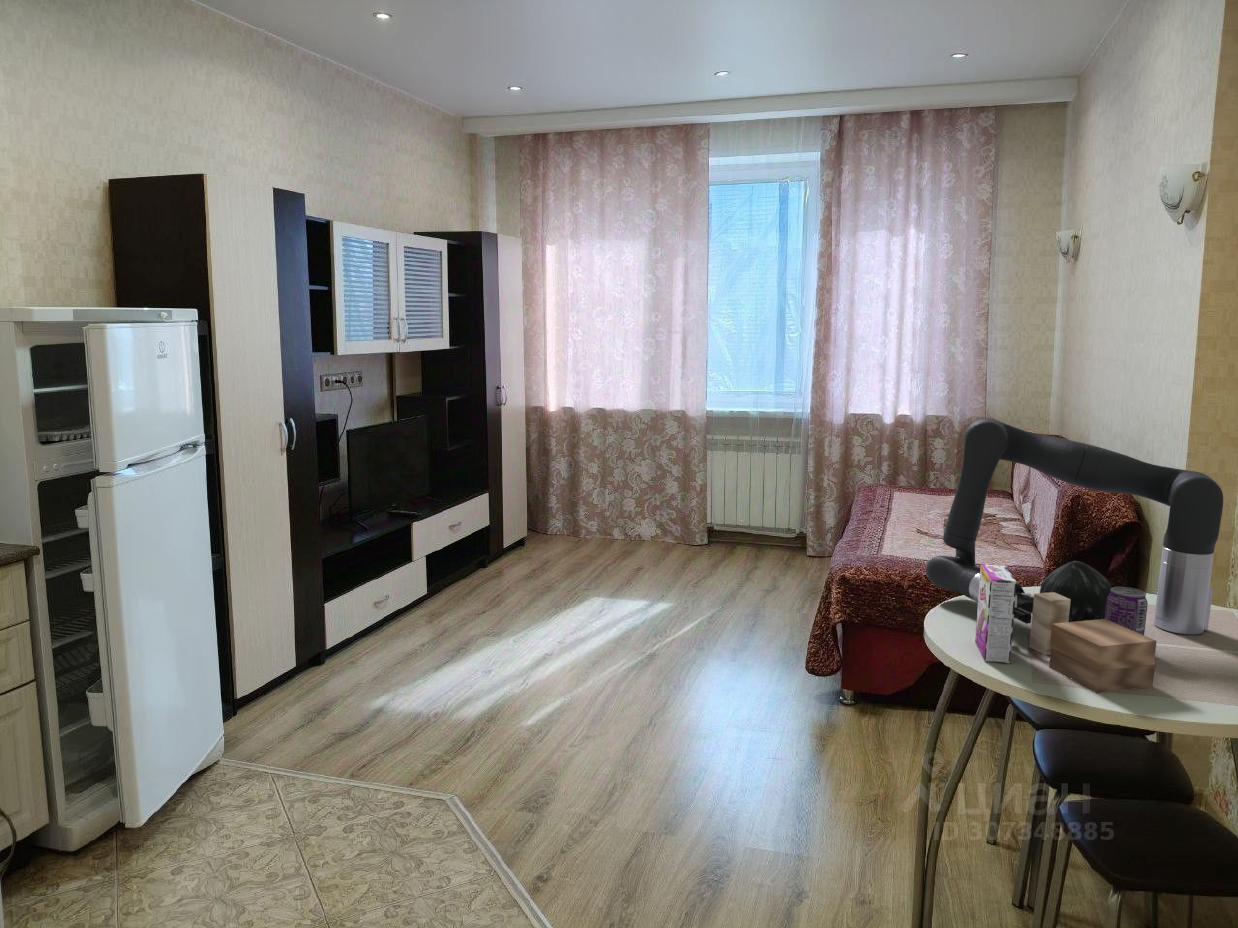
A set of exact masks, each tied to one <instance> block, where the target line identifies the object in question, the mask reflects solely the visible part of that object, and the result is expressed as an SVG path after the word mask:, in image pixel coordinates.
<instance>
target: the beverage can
mask: <svg viewBox="0 0 1238 928" xmlns="http://www.w3.org/2000/svg"><path fill="white" fill-rule="evenodd" d="M1146 596H1147V593H1146V591H1143V590H1141V589H1137V588H1133V587H1128V586H1114V587H1112V588H1111V592H1110V594H1109V595H1108V596H1107V602H1106V612H1105V619H1106V620H1109V621H1111V622H1114V623H1116V624H1118V625H1121V626H1123V627H1125V628H1128V629H1130V630H1132V631H1135V632H1137V633H1139V634H1142V635H1144V636H1145V631H1146V621H1147V614H1148V613H1147V612H1148V605H1149V604H1148V599H1147V597H1146Z"/></svg>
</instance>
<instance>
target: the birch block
mask: <svg viewBox="0 0 1238 928" xmlns="http://www.w3.org/2000/svg"><path fill="white" fill-rule="evenodd" d="M1033 596H1034V602H1033V613H1032V614H1031V615H1032V616H1031V623H1030V635H1029V648H1031V649H1033V650H1034V651H1036V652H1039V653H1040V654H1042V655H1044V656H1048V655H1049V656H1050V654H1051V647H1050V639H1051V629H1052V624H1054V623H1065V622H1068V621H1069V611H1070V601H1071V599H1069V598H1067V597H1064V596H1062V595H1060V594H1057V593H1055V592H1050V593H1040V592H1038V593H1037V592H1036V593H1034V595H1033Z"/></svg>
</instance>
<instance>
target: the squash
mask: <svg viewBox="0 0 1238 928" xmlns="http://www.w3.org/2000/svg"><path fill="white" fill-rule="evenodd" d="M1111 588H1112V584H1111V582H1110V581H1109V579H1107V578H1106V577H1105V576H1104V575H1103V574H1102V573H1100V572H1099V571H1098V570H1096V569H1095V568H1093V567H1092V566H1090V565H1088V564H1087V563H1084V562H1082V561H1080V560H1073V561H1070V562H1067V563H1065V564H1062V565H1061V566H1059V567H1057V568H1056V569H1054V570H1053V571H1051V573H1049V575H1047V576H1046V578H1045V579H1044V580H1043V581H1042V583H1041V586H1040V589H1039V593H1050V592H1055V593H1057V594H1060V595H1062V596H1064V597H1067V598H1069V599H1071V601H1070V611H1069V621H1068V622H1076V621H1087V620H1098V619H1105V612H1106V602H1107V596H1108V595H1109V594H1110V592H1111Z"/></svg>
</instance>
